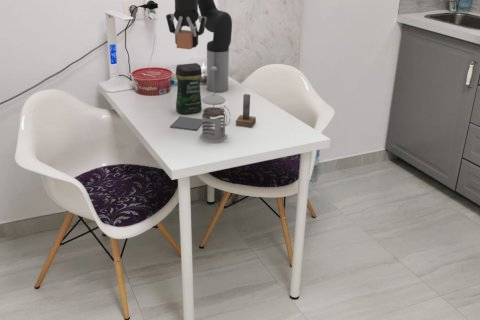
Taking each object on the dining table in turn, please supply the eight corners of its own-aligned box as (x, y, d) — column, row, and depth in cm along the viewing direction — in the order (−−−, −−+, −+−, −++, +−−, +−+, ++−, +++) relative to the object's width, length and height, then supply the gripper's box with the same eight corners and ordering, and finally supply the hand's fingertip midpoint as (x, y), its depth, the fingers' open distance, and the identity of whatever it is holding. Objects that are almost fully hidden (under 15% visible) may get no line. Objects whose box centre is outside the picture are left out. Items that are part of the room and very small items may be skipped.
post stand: (239, 119, 200) (240, 91, 195) (255, 121, 198) (256, 93, 193) (235, 125, 194) (236, 96, 189) (251, 127, 193) (253, 98, 188)
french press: (212, 129, 191) (212, 60, 180) (237, 138, 184) (239, 67, 173) (193, 137, 184) (192, 66, 173) (218, 146, 177) (219, 73, 166)
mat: (179, 117, 200) (179, 116, 199) (205, 120, 198) (205, 119, 197) (170, 127, 191) (170, 126, 191) (196, 130, 189) (196, 129, 189)
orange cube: (176, 47, 180) (176, 33, 178) (182, 44, 184) (181, 29, 182) (190, 49, 179) (190, 34, 176) (195, 45, 183) (195, 31, 181)
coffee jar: (180, 116, 201) (179, 68, 193) (173, 109, 208) (172, 62, 200) (204, 112, 205) (204, 65, 197) (196, 106, 212) (196, 60, 204)
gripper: (161, -6, 173) (163, 47, 180) (203, -3, 170) (203, 50, 177) (169, -9, 179) (170, 42, 187) (210, -6, 176) (210, 45, 184)
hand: (186, 46), depth 182 cm, fingers closed on orange cube, 5 cm apart
